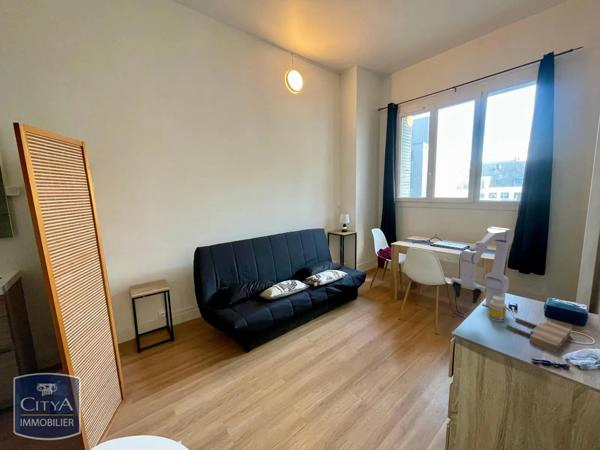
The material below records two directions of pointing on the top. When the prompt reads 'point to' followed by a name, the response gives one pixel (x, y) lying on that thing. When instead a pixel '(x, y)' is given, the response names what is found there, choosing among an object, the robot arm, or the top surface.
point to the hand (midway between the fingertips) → (466, 299)
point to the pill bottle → (497, 309)
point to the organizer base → (544, 334)
